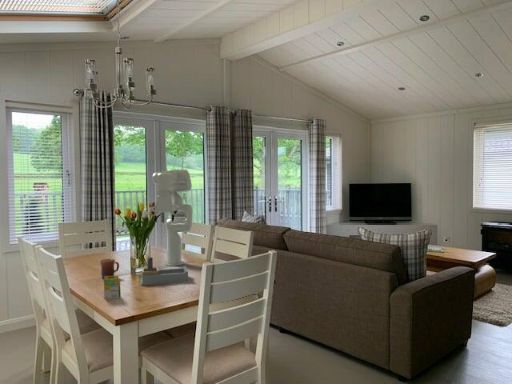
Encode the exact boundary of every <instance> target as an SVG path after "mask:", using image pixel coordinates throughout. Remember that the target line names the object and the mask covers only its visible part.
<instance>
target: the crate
mask: <svg viewBox="0 0 512 384" xmlns="http://www.w3.org/2000/svg"><path fill="white" fill-rule="evenodd" d="M153 260H154V259H153V257H151V256H150V257H147V267H144V268H141V277H142V276H143V275H157V274H159V270H160V269H159V267H158V266H157V267H154V266H153V263H154V261H153Z"/></svg>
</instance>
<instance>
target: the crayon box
mask: <svg viewBox="0 0 512 384" xmlns="http://www.w3.org/2000/svg"><path fill="white" fill-rule="evenodd" d="M108 277H112V278H108ZM103 294H104V296H103V298H104V300H107V299H109V300H111V299H112V300H113V299H114V300H115V299H117V300H118V299H120V298H121V278H120V277H119V275H114V276H104V278H103Z"/></svg>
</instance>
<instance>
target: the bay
mask: <svg viewBox="0 0 512 384" xmlns="http://www.w3.org/2000/svg"><path fill="white" fill-rule="evenodd" d="M158 270H159V274H157V275H143V276H142V275H141V278H140V280H141V281H140V282H141V283H140V284H141V286H150V285H151V286H153V285H154V286H155V285H164V284H165V285H167V284H176V283H177V284H179V283H189V270H188V268H187V266H182V267H177V268H176V267H175V268H164V269H161V268H160V269H158Z"/></svg>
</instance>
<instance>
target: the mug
mask: <svg viewBox="0 0 512 384" xmlns="http://www.w3.org/2000/svg"><path fill="white" fill-rule="evenodd" d="M99 263H100V267H101V268H100V273H101V274H100V275H101V278H103V279H104V276H115V273H116V272H118V271H119V269H120V263H119V262H118V261H116V259H115V258H104V259H100V260H99ZM115 264H116V268H115ZM108 278H113V277H108Z"/></svg>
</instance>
